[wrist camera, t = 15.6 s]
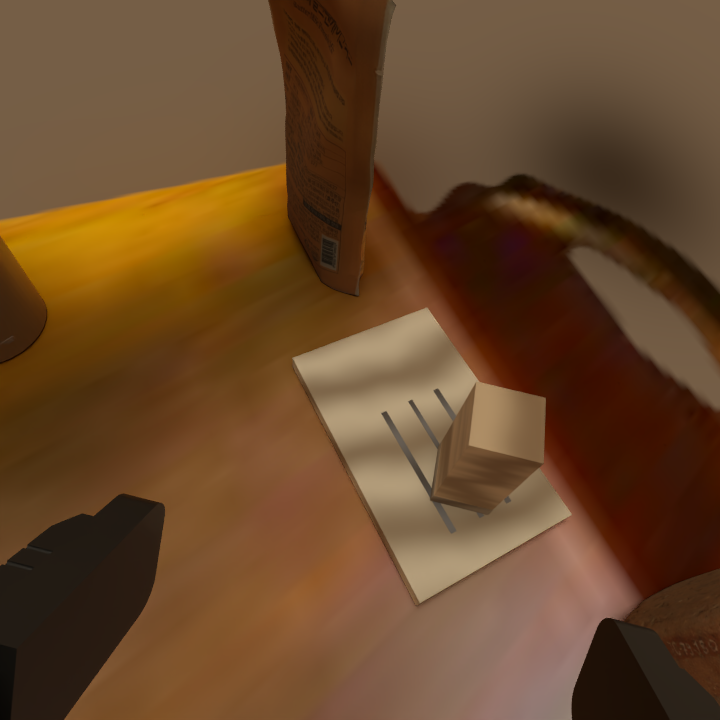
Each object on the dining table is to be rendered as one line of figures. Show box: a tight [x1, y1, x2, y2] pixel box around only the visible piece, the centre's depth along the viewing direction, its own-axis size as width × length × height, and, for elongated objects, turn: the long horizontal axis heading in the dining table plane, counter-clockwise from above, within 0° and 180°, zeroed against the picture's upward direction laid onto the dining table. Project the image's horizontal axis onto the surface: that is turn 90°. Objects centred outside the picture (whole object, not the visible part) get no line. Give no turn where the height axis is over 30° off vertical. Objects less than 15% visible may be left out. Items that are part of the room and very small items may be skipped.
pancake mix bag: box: [268, 0, 396, 296], centre depth 44 cm, size 7×19×28 cm, turn 24°
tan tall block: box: [430, 381, 546, 515], centre depth 37 cm, size 5×5×11 cm
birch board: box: [293, 308, 572, 606], centre depth 44 cm, size 22×14×2 cm, turn 27°
